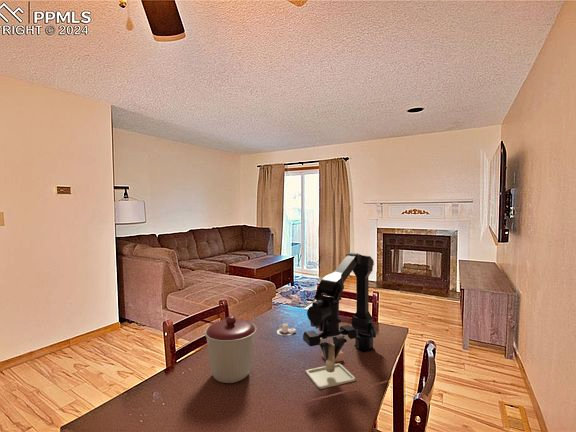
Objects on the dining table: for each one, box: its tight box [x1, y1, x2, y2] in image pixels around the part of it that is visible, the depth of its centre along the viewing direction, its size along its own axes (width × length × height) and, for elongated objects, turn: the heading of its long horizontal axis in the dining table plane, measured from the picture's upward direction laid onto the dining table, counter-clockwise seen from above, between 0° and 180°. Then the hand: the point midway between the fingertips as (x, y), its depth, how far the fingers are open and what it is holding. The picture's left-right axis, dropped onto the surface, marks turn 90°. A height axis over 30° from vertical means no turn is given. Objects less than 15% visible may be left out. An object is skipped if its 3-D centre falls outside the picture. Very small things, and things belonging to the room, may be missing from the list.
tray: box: [304, 362, 357, 390], centre depth 109 cm, size 14×11×1 cm
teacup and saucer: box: [276, 322, 297, 337], centre depth 147 cm, size 9×8×4 cm
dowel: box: [325, 342, 336, 372], centre depth 109 cm, size 3×3×9 cm
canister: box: [203, 315, 258, 384], centre depth 110 cm, size 18×18×21 cm
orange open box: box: [321, 349, 344, 363], centre depth 122 cm, size 6×6×4 cm
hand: (330, 359), depth 109 cm, fingers closed on dowel, 3 cm apart
